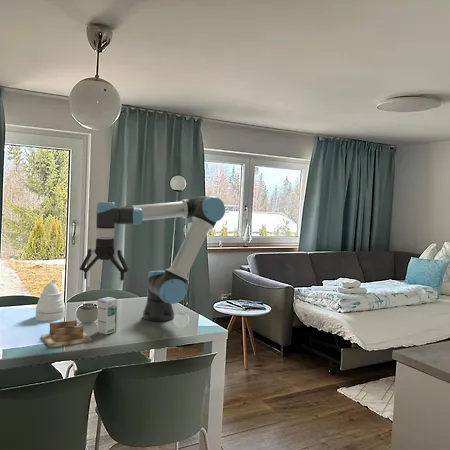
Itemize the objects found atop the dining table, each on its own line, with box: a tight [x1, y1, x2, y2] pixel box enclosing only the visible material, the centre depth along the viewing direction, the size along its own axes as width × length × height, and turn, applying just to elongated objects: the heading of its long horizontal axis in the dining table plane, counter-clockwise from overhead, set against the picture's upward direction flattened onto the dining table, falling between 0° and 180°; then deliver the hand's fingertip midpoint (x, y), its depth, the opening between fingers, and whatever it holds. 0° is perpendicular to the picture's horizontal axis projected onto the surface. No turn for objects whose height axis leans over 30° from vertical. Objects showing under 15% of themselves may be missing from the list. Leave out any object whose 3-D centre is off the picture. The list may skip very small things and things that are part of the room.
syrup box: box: [96, 296, 118, 335], centre depth 186 cm, size 6×6×14 cm
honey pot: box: [35, 278, 66, 322], centre depth 205 cm, size 13×13×18 cm
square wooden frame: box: [40, 319, 93, 348], centre depth 174 cm, size 16×14×7 cm
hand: (103, 287), depth 186 cm, fingers open, 13 cm apart
